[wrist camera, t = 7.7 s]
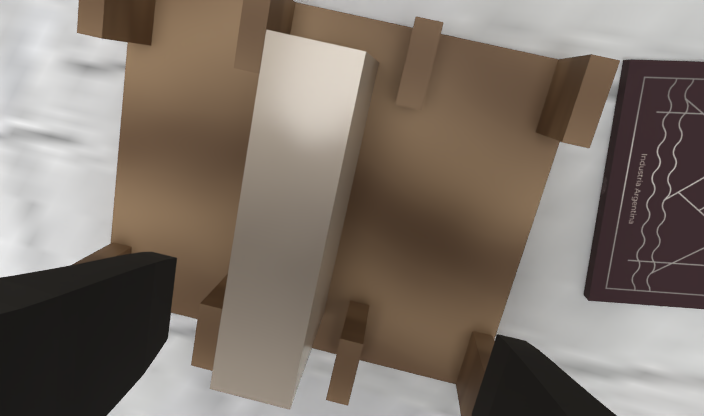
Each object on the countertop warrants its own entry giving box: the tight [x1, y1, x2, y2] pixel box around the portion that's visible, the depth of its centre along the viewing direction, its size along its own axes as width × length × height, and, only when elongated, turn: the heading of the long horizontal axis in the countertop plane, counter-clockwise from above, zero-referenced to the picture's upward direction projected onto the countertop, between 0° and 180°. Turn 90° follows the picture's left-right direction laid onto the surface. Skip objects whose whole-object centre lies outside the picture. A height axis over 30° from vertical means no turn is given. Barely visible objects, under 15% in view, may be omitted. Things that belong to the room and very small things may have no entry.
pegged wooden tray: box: [72, 0, 620, 416], centre depth 17 cm, size 13×16×4 cm
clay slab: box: [210, 30, 379, 409], centre depth 16 cm, size 10×2×6 cm, turn 168°
